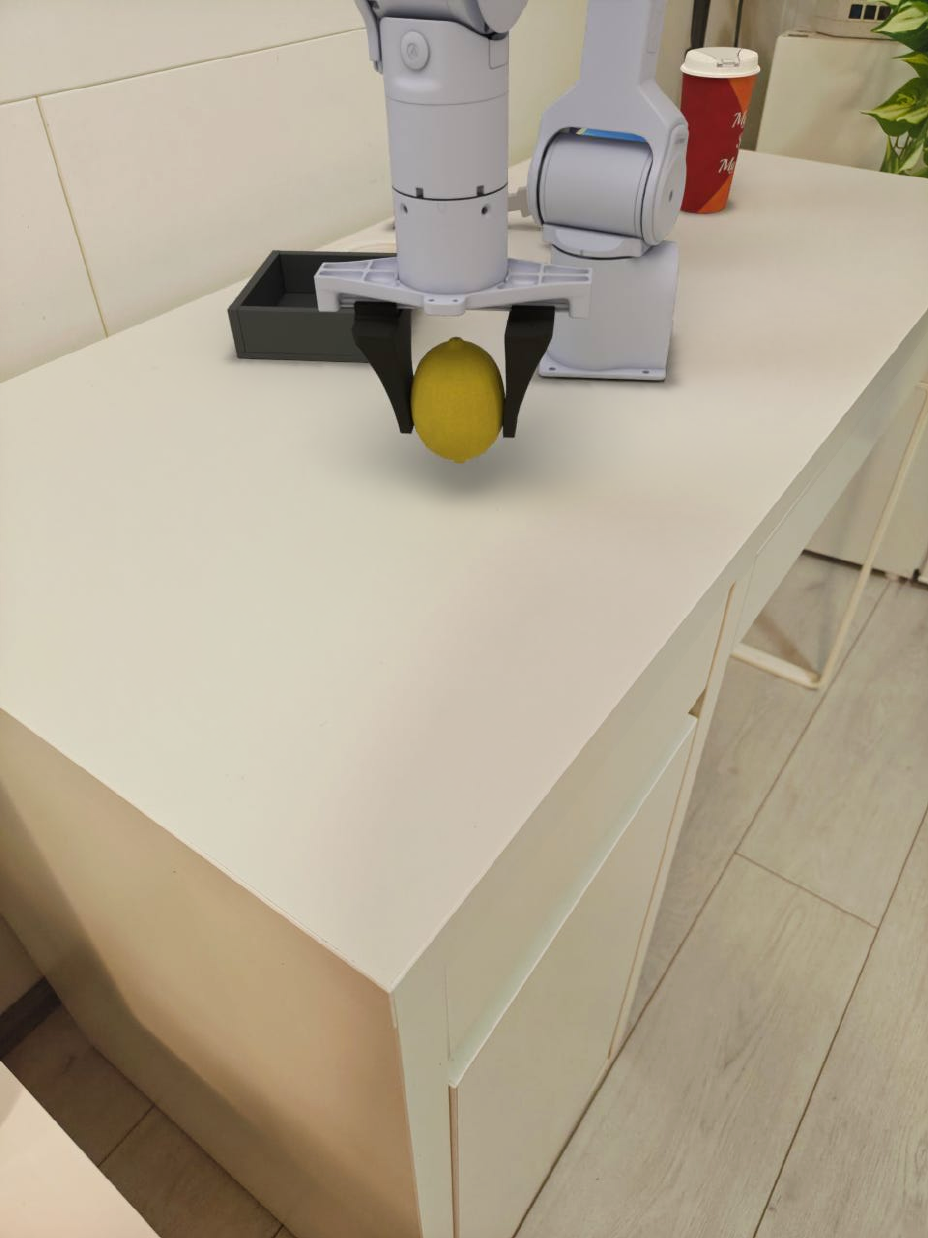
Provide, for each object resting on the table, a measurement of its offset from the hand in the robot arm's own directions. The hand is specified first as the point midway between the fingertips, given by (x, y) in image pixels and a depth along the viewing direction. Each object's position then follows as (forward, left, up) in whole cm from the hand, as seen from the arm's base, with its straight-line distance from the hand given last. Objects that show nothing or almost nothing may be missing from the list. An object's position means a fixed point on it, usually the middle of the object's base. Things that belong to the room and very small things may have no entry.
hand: (458, 427), depth 52 cm
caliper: (+3, -48, -5) cm, 48 cm away
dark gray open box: (+14, -24, -5) cm, 28 cm away
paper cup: (-19, -57, -5) cm, 60 cm away
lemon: (0, 0, -3) cm, 3 cm away
